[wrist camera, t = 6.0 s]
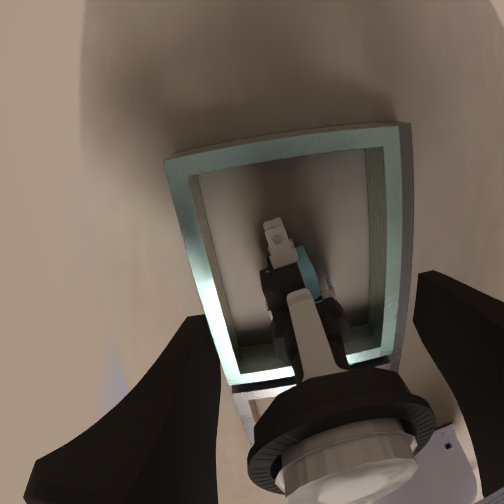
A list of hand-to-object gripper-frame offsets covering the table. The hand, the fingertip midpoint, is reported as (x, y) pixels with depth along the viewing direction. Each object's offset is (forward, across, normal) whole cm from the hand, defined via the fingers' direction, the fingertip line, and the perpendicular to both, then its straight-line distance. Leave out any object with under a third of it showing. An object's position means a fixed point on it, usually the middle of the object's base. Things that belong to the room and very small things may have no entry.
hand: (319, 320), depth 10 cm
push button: (+5, 0, +1) cm, 5 cm away
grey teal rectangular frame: (+5, 0, +6) cm, 7 cm away
